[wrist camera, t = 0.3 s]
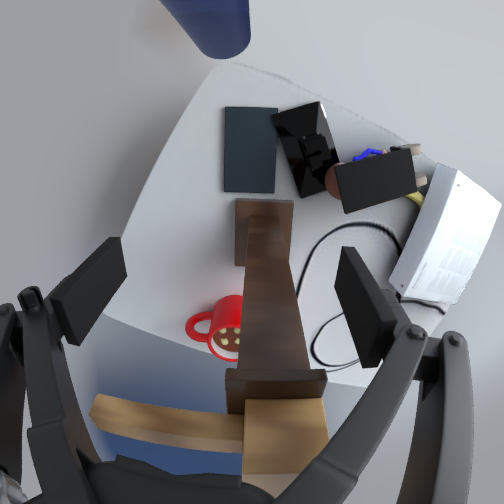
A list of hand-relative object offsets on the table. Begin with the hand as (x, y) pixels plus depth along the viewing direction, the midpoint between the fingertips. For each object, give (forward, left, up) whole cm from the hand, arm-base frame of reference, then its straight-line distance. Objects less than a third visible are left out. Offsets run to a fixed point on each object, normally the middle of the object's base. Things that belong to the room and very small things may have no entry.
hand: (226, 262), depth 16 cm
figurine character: (-3, +18, -25) cm, 31 cm away
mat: (-5, +1, -25) cm, 26 cm away
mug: (+23, -3, -25) cm, 34 cm away
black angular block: (-5, +9, -25) cm, 27 cm away
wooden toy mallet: (+7, -1, +6) cm, 9 cm away
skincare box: (+8, +42, -23) cm, 48 cm away
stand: (+7, +3, -25) cm, 26 cm away
